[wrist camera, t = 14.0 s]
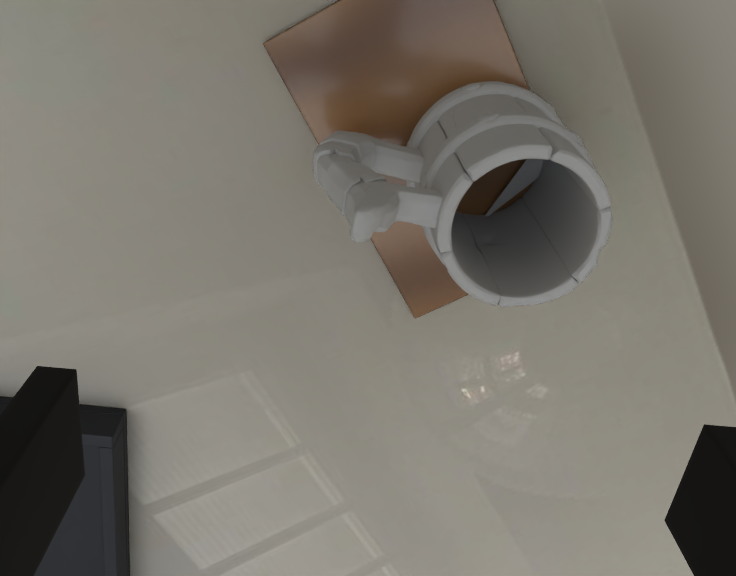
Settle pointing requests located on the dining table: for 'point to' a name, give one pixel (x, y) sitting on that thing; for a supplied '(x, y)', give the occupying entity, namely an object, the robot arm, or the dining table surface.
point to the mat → (399, 100)
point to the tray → (94, 503)
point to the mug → (455, 176)
